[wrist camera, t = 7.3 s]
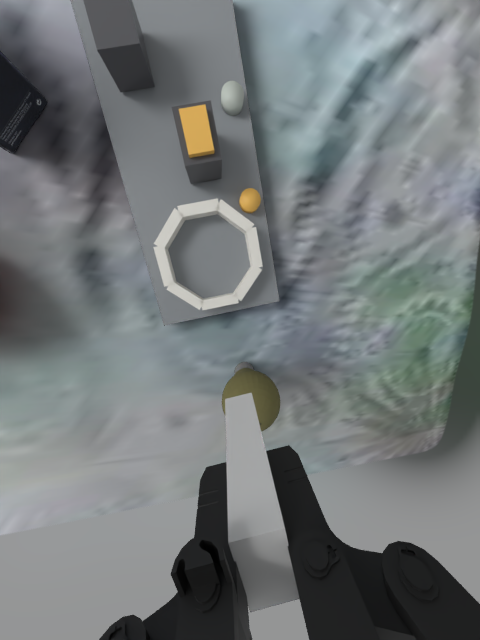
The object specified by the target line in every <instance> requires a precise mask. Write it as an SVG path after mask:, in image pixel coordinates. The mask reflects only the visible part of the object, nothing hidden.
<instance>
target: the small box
mask: <svg viewBox="0 0 480 640" xmlns="http://www.w3.org/2000/svg"><path fill="white" fill-rule="evenodd" d="M46 103H47V100H46V99H45V98H44V97H43V96H42V95H41V94H40V93H39V91H38V90H37V89H36V88H35V87H34V86H33V85H32V84H31V83H30V82H29V81H28V80H27V79H26V78H25V76H24V75H23V74H22V73H21V72H20V71H19V70H18V69H17V68H16V67H15V66H14V65H13V64H12V63H11V62H10V61H9V60H8V59H7V58H6V57H5V56H4V55H3V54H2V53H1V51H0V147H1V148H3V149H4V150H6V151H8V152H9V153H14V152H15V150H17V147H18V145H19V144H20V142H21V141H22V139H23V138H24V136H25V135H26V133H27V132H28V130H29V129H30V128H31V126H32V125H33V123H34V122H35V120H36V119H37V118H38V117H39V115H40V113H41V112H42V110H43V109H44V107H45V105H46Z"/></svg>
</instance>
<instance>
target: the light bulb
mask: <svg viewBox="0 0 480 640" xmlns="http://www.w3.org/2000/svg"><path fill="white" fill-rule="evenodd" d="M248 393H252V396H253V400H254V404H255V408H256V412H257V416H258V420H259V424H260V429H261V431H263V430H265V429H267V428H268V427H270V426H271V425H272V424H273V422H274V421H275V419H276V418H277V416H278V413H279V409H280V396H279V392H278V389H277V387H276V386H275V384H274V382H273V381H272V380H271V379H270V378H269V377H267V376H266V375H265V374H263V373H261V372H258V371H254V368H253V366H252V365H251V364H250V363H247V362H242V363H240V364H238V365H237V366H236V368H235V375H234V376H233V377H232V378H231V379H230V380H229V381H228V383H227V384H226V386H225V389H224V391H223V395H222V407H223V411H224V414H225V399H227V398H231V397H235V396H239V395H244V394H248Z"/></svg>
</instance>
